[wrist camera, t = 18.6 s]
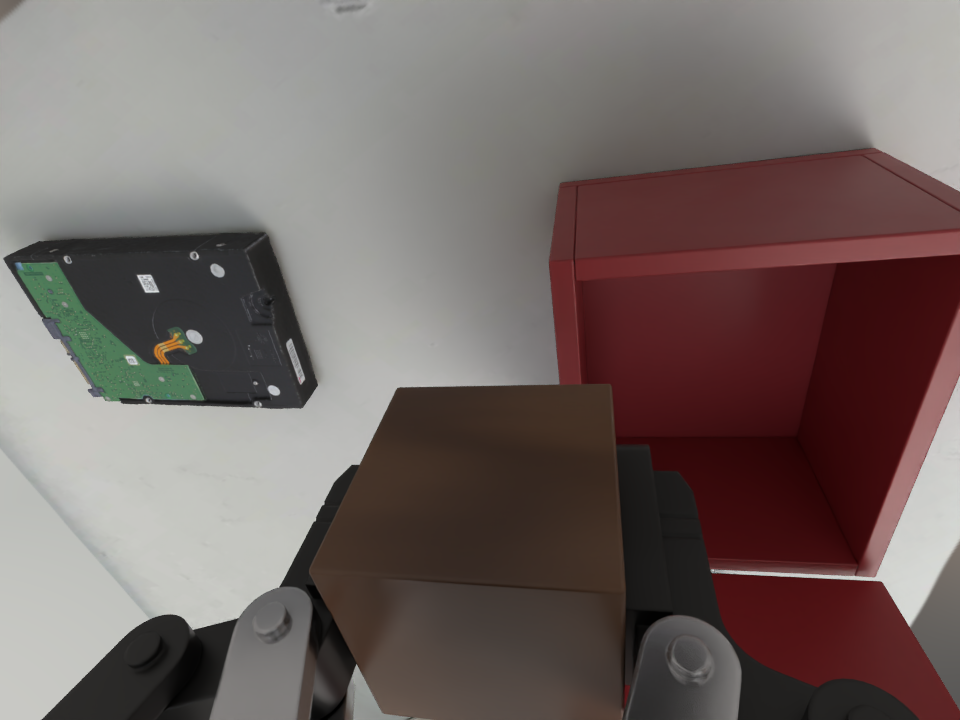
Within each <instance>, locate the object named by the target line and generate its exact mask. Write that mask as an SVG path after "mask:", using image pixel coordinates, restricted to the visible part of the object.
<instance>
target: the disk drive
mask: <svg viewBox="0 0 960 720" xmlns="http://www.w3.org/2000/svg"><path fill="white" fill-rule="evenodd" d="M4 261H5V263H6V264H7V266H8V268H9V269H10V270H11V272H12V274H13V275H14V277H15V279H17V282H18V283H19V284H20V286H21V288H22V289H23V291H24V292H25V294H26V295H27V297H28V298H29V300H30V302H31V303H32V305H33V306H34V308H35V309H36V311H37V312H38V314H39V315H40V316H41V317H43V319H42V321H43V323H44V325H45V327H46V328H47V329H48V331H49V332H50V334H51V335H52V337H53V338H54V339H60V340H61V341H60V342H61V344H62V345H63V346H64V348H65V349H66V351H67V355H71V356H72V358H71V360H72V361H73V362H74V363H75V365H76V366H77V368H78V369H79V371H80V372H81V374H82V375H83V377H84V379H85V380H86V382H87V383H88V384H90V385H91V387H92V389H88V392H89V393H91V395H92V396H93V397H101V396H102V397H104V399H105V401H121V403H123V404H161V405H163V404H165V405H191V406H192V405H193V406H195V405H196V406H224V407H257V408H258V407H260V408H270V409H273V408H275V409H283V408H300V409H301V408H303V407H304V405H305V404H306V402H307V401H308V399H309V398H310V397H311V395H312V393H313V392H314V390H315V389H316V387H317V386H318V384H317V381H316V379H315V375H314V371H313V368H312V364H311V361H310V357H309V355H308V351H307V348H306V346H305V343H304V340H303V337H302V334H301V331H300V328H299V325H298V322H297V319H296V316H295V313H294V310H293V307H292V304H291V301H290V298H289V295H288V292H287V289H286V286H285V283H284V280H283V277H282V274H281V271H280V268H279V265H278V263H277V260H276V257H275V255H274V252H273V249H272V247H271V244H270V241H269V237H268V235H267V234H266V233H259V234H255V233H225V234H206V235H180V236H158V237H157V236H155V237H145V238H133V237H131V238H107V239H106V238H104V239H72V240H60V241H44V242H42V241H39V242H37V243H35V244H32V245H29V246H28V247H25V248H23V249H20V250H18V251H16V252H14V253H12V254H10V255H8V256H6V257H5V258H4Z"/></svg>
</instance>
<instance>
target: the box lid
mask: <svg viewBox="0 0 960 720" xmlns="http://www.w3.org/2000/svg"><path fill="white" fill-rule="evenodd" d="M711 575H712V579H713V584H714V588H715V593H716V598H717V602H718V607H719V611H720V615H721V618H722V621H723V624H724V626H725V628H726V630H727V631H728V633H729V634H730V636H731V637H732V639H733V640H734V641H735V642H736V643H737V645H738V646H739V647H740V648H741V649H742V650H743V651H744V652H746V653H747V654H748V655H749V656H751V657H752V658H753V659H755V660H756V661H758V662H760V663H761V664H763V665H764V666H767V667H769V668H771V669H773V670H775V671H778V672H780V673H783V674H785V675H788V676H790V677H793V678H795V679H798V680H800V681H803V682H805V683H808V684H810V685H813V686H816V687H819V686H820V685H822V684H823V683H825V682H827V681H830V680H834V679H842V678H844V679H855V680H859V681H864V682H866V683H869V684H872V685H874V686H877V687H879V688H881V689H883V690H885V691H886V692H888V693H889V694H891V695H893V696H894V697H896V698H897V699H898V700H899V701H901V702H902V703H903V704H905V705H906V706H907V707H908V708H909V709H910V710H911V711H912V712H913V713H914V714H915V715H916V716H917V717H918V718H919V720H960V711H959V709H958V707H957V705H956V704H955V702H954V700H953V699H952V697H951V696H950V694H949V692H948V690H947V689H946V687H945V685H944V684H943V682H942V680H941V679H940V677H939V676H938V674H937V672H936V671H935V669H934V667H933V665H932V664H931V662H930V660H929V659H928V657H927V656H926V654H925V652H924V651H923V649H922V647H921V646H920V644H919V642H918V641H917V639H916V637H915V636H914V634H913V633H912V631H911V629H910V627H909V626H908V624H907V622H906V621H905V619H904V617H903V616H902V614H901V612H900V611H899V609H898V607H897V606H896V604H895V602H894V601H893V599H892V598H891V596H890V594H889V593H888V591H887V589H886V588H885V586H884V584H883V583H882V582H880V581H860V580H840V579H820V578H800V577H779V576H759V575H739V574H719V573H711ZM629 689H630V685H625V705H626V701H627V697H628V693H629Z"/></svg>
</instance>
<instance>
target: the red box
mask: <svg viewBox="0 0 960 720" xmlns="http://www.w3.org/2000/svg"><path fill="white" fill-rule="evenodd" d="M549 271H550V282H551V293H552V304H553V315H554V326H555V337H556V348H557V359H558V370H559V381H560V385H570V384H611V386H612V392H613V406H614V421H615V436H616V444H649V447H650V453H651V460H652V467H653V471H678V472H679V473H680V475H681V476H682V477H683V479H684V480H685V481H686V482H687V484H688V485H689V486H690V488H691V489H692V490H693V492H694V497H695V501H696V506H697V511H698V518H699V520H700V524H701V529H702V533H703V539H704V543H705V547H706V552H707V556H708V561H709V565H710V569H717V570H738V571H759V572H780V573H801V574H822V575H842V576H854V575H855V576H862V577H875V576H876V574H877V571H878V569H879V567H880V564H881V562H882V560H883V557H884V555H885V552H886V550H887V548H888V545H889V543H890V540H891V538H892V536H893V533H894V531H895V529H896V526H897V524H898V521H899V519H900V517H901V514H902V512H903V509H904V507H905V505H906V502H907V500H908V498H909V495H910V493H911V490H912V488H913V486H914V483H915V481H916V479H917V476H918V474H919V471H920V469H921V467H922V464H923V462H924V459H925V457H926V455H927V452H928V450H929V448H930V445H931V443H932V440H933V438H934V436H935V433H936V431H937V428H938V426H939V424H940V421H941V419H942V417H943V414H944V412H945V409H946V407H947V405H948V402H949V400H950V397H951V395H952V393H953V390H954V388H955V386H956V383H957V381H958V378H959V376H960V192H959V191H957V190H956V189H954V188H952V187H950V186H948V185H946V184H944V183H942V182H940V181H938V180H936V179H934V178H932V177H931V176H929V175H927V174H925V173H923V172H921V171H919V170H917V169H915V168H913V167H911V166H909V165H907V164H905V163H904V162H902V161H900V160H898V159H896V158H894V157H892V156H890V155H888V154H886V153H883V152H881V151H880V150H878V149H876V148H870V149H861V150H852V151H843V152H834V153H825V154H816V155H807V156H798V157H789V158H780V159H771V160H762V161H753V162H744V163H735V164H726V165H717V166H708V167H699V168H690V169H681V170H672V171H663V172H654V173H645V174H636V175H627V176H618V177H609V178H600V179H591V180H582V181H573V182H564V183H560V186H559V192H558V200H557V207H556V214H555V221H554V229H553V236H552V243H551V250H550V257H549Z"/></svg>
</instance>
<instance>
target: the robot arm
mask: <svg viewBox="0 0 960 720" xmlns="http://www.w3.org/2000/svg"><path fill="white" fill-rule="evenodd" d="M616 450H617V465H618V480H619V494H620V509H621V524H622V538H623V553H624V568H625V582H626V638H625V685H630V689H629V693H628V697H627V701H626V705H625V709H624V713H623V717H622V720H919V718H918V717H917V716H916V715H915V714H914V713H913V712H912V711H911V710H910V709H909V708H908V707H907V706H906V705H905V704H903V703H902V702H901V701H899V700H898V699H897V698H896V697H894V696H893V695H891V694H889V693H888V692H886V691H885V690H883V689H881V688H879V687H877V686H874V685H872V684H869V683H866V682H864V681H859V680H855V679H844V678H842V679H834V680H830V681H827V682H825V683H823V684H822V685H820V686H819V687H816V686H813V685H810V684H808V683H805V682H803V681H800V680H798V679H795V678H793V677H790V676H788V675H785V674H783V673H780V672H778V671H775V670H773V669H771V668H769V667H767V666H764V665H763V664H761V663H760V662H758V661H756V660H755V659H753V658H752V657H751V656H749V655H748V654H747V653H746V652H744V651H743V650H742V649H741V648H740V647H739V646H738V645H737V643H736V642H735V641H734V640H733V639H732V637H731V636H730V634H729V633H728V631H727V630H726V628H725V626H724V624H723V621H722V618H721V615H720V611H719V607H718V602H717V598H716V593H715V588H714V584H713V579H712V575H711V570H710V565H709V561H708V556H707V552H706V547H705V543H704V539H703V533H702V529H701V524H700V520H699V518H698V511H697V506H696V501H695V497H694V492H693V490H692V489H691V488H690V486H689V485H688V484H687V482H686V481H685V480H684V479H683V477H682V476H681V475H680V473H679V472H678V471H653V467H652V460H651V453H650V447H649V444H616ZM358 468H359V465H351V466H350V467H349V468H348V469H347V470H346V471H345V472H344V473H343V474H342V475H341V476H340V477H339V478H338V479H337V480H336V481H335V482H334V484H333V486H332V488H331V490H330V492H329V494H328V496H327V498H326V500H325V504H324V505H322V507H321V509H320V511H319V513H318V515H317V517H316V522H314V523H313V524H312V526H311V528H310V530H309V532H308V534H307V536H306V538H305V540H304V542H303V544H302V546H301V548H300V549H299V551H298V553H297V555H296V557H295V559H294V561H293V563H292V565H291V567H290V569H289V571H288V572H287V574H286V576H285V578H284V580H283V582H282V584H281V585H280V587H279V588H276V589H273V590H271V591H268V592H266V593H265V594H263V595H261V596H260V597H258V598H257V599H255V600H254V601H253V602H252V603H251V604H250V605H249V606H248V607H247V608H246V609H245V610H244V611H243V613H242V614H241V616H240V617H239V618H238V619H234V620H231V621H227V622H223V623H219V624H215V625H211V626H207V627H203V628H199V629H195V630H192V628H191V627H190V626H189V625H188V623H187V622H186V621H185V620H184V619H183V618H182V617H180V616H177V615H171V614H170V615H162V616H158V617H155V618H152V619H150V620H148V621H146V622H144V623H142V624H141V625H139V626H137V627H136V628H135V629H133V630H132V631H131V632H129V633H128V634H127V635H126V636H125V637H124V638H123V639H122V640H121V641H120V642H119V643H118V644H117V645H116V646H115V647H114V648H113V649H112V650H111V651H110V652H109V653H108V654H107V655H106V656H105V657H104V658H103V659H102V660H101V661H100V662H99V663H98V664H97V665H96V666H95V667H94V668H93V669H92V670H91V671H90V672H89V673H88V674H87V675H86V676H85V677H84V678H83V679H82V680H81V681H80V682H79V683H78V684H77V685H76V686H75V687H74V688H73V689H72V690H71V691H70V692H69V693H68V694H67V695H66V696H65V697H64V698H63V699H62V700H61V701H60V702H59V703H58V704H57V705H56V706H55V707H54V708H53V709H52V710H51V711H50V712H49V713H48V714H47V715H46V716H45V717H44V718H43V719H42V720H353V713H354V697H355V684H354V679H353V677H352V675H353V672H354V669H355V666H356V662H355V660H354V658H353V656H352V654H351V652H350V650H349V648H348V646H347V645H346V643H345V641H344V639H343V637H342V635H341V633H340V631H339V629H338V627H337V625H336V623H335V622H334V620H333V618H332V616H331V614H330V612H329V610H328V608H327V606H326V604H325V602H324V601H323V599H322V597H321V595H320V593H319V591H318V589H317V587H316V585H315V583H314V581H313V579H312V578H311V576H310V574H309V568H310V566H311V564H312V562H313V560H314V558H315V556H316V554H317V552H318V550H319V548H320V546H321V543H322V541H323V539H324V537H325V535H326V533H327V531H328V529H329V527H330V525H331V523H332V521H333V519H334V517H335V515H336V513H337V511H338V509H339V507H340V504H341V502H342V500H343V498H344V496H345V494H346V492H347V490H348V488H349V486H350V484H351V482H352V480H353V478H354V476H355V474H356V472H357V470H358Z"/></svg>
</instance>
